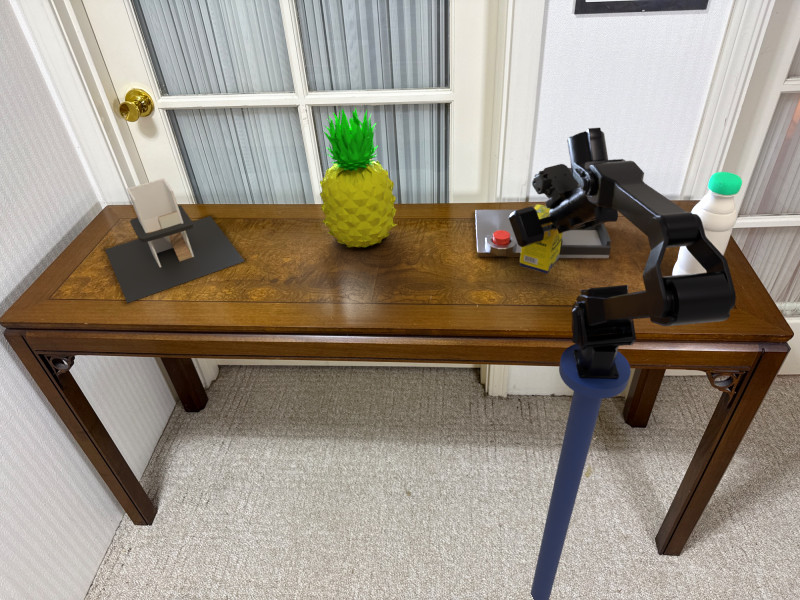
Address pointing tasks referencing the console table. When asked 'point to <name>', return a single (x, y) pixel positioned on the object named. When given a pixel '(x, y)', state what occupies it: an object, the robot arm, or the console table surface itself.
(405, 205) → the console table surface
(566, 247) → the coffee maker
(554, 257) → the supplement box
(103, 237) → the console table surface
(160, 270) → the beige and grey stand
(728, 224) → the water bottle
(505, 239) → the button
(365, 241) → the pineapple
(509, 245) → the button block
